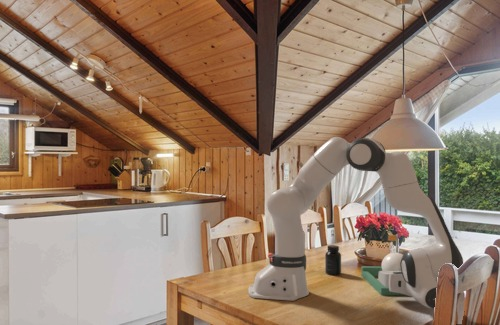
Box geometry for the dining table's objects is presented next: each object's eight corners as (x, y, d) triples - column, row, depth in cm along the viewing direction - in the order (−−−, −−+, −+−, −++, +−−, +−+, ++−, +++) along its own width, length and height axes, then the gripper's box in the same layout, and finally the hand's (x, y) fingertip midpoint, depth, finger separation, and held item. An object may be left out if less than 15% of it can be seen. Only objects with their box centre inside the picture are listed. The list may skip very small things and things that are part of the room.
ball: (388, 274, 151) (385, 246, 158) (379, 284, 160) (376, 257, 167) (417, 277, 151) (413, 249, 158) (407, 286, 160) (403, 260, 167)
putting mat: (381, 295, 150) (381, 246, 150) (361, 275, 176) (361, 233, 176) (427, 295, 150) (427, 246, 150) (400, 275, 176) (400, 234, 176)
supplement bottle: (331, 270, 183) (331, 243, 183) (344, 273, 178) (344, 246, 178) (322, 273, 178) (322, 246, 178) (335, 276, 174) (335, 248, 174)
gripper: (445, 274, 140) (427, 264, 153) (386, 273, 139) (373, 263, 153) (445, 292, 140) (427, 280, 153) (386, 291, 139) (373, 280, 153)
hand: (400, 272), depth 153 cm, fingers closed
